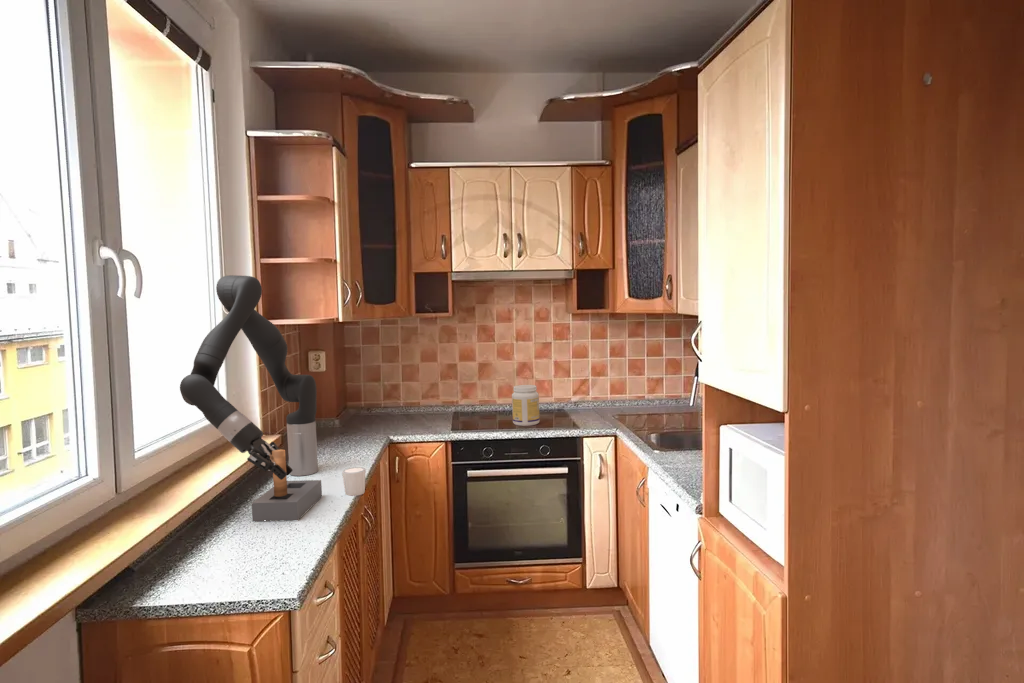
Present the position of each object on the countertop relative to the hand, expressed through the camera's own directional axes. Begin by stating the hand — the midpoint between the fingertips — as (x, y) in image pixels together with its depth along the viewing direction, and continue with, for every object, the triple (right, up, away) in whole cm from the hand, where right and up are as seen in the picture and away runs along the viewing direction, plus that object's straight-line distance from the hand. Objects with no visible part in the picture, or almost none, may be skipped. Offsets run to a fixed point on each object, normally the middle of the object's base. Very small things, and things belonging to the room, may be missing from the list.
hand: (287, 474), depth 172 cm
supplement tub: (+67, -1, +114) cm, 132 cm away
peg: (-2, -5, 0) cm, 6 cm away
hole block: (-2, -11, +6) cm, 12 cm away
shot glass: (+14, -10, +19) cm, 25 cm away
